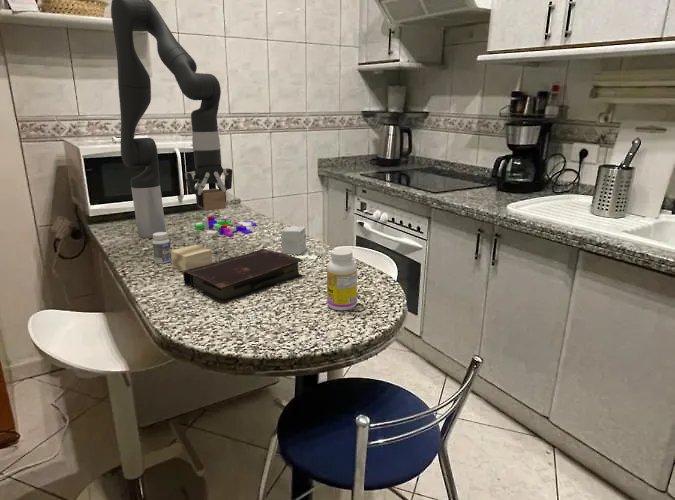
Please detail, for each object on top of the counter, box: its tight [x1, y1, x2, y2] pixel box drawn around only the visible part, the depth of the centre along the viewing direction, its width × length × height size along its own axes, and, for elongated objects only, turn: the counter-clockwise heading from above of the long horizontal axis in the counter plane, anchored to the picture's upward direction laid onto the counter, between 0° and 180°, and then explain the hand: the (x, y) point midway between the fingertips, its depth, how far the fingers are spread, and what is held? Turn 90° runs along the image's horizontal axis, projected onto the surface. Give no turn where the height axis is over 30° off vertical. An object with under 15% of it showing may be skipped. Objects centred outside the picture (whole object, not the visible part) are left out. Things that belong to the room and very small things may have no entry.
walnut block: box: [197, 188, 227, 212], centre depth 135 cm, size 6×6×5 cm
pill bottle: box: [151, 231, 172, 264], centre depth 132 cm, size 5×5×8 cm
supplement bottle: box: [326, 247, 358, 312], centre depth 101 cm, size 7×7×13 cm
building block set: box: [194, 215, 258, 238], centre depth 169 cm, size 25×20×4 cm
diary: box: [182, 248, 304, 304], centre depth 118 cm, size 19×25×5 cm
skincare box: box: [280, 225, 307, 255], centre depth 140 cm, size 6×6×7 cm
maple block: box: [171, 244, 213, 273], centre depth 128 cm, size 8×8×5 cm
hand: (211, 205), depth 135 cm, fingers closed on walnut block, 6 cm apart
